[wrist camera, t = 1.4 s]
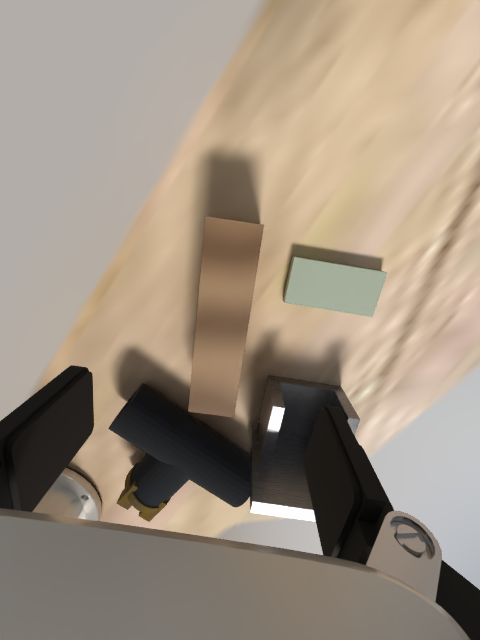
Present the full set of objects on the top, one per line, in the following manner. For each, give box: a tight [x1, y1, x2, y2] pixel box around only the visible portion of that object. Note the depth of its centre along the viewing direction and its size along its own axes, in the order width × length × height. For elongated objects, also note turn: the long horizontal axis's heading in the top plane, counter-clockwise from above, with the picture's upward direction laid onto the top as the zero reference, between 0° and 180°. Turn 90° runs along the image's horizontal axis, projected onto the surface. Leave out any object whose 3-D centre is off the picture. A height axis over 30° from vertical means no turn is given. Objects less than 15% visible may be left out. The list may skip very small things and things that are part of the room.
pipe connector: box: [109, 383, 250, 521], centre depth 29 cm, size 12×5×15 cm
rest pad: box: [283, 256, 387, 317], centre depth 24 cm, size 4×8×1 cm, turn 81°
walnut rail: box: [188, 216, 264, 417], centre depth 23 cm, size 16×4×5 cm, turn 172°
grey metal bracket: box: [249, 376, 360, 522], centre depth 25 cm, size 7×9×9 cm
